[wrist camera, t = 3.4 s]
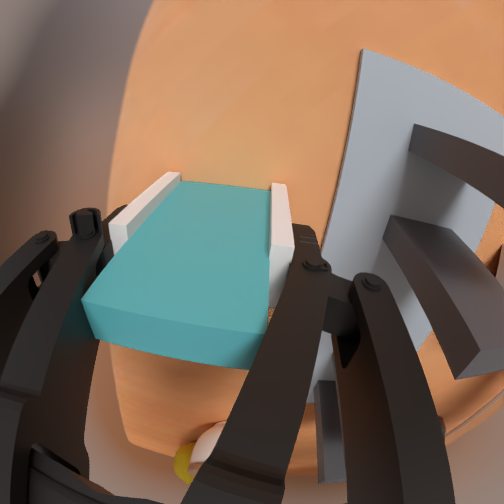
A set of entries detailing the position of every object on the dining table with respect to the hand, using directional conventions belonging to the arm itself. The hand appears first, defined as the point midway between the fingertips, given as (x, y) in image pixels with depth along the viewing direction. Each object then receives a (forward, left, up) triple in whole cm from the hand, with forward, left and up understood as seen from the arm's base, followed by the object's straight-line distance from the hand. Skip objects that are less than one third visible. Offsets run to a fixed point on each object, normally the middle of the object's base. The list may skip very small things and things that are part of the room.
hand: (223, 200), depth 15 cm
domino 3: (0, -12, 0) cm, 12 cm away
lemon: (-40, +3, -1) cm, 40 cm away
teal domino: (0, 0, 0) cm, 0 cm away
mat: (-6, -12, 0) cm, 13 cm away
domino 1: (-17, -12, 0) cm, 20 cm away
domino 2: (+5, -12, 0) cm, 13 cm away
